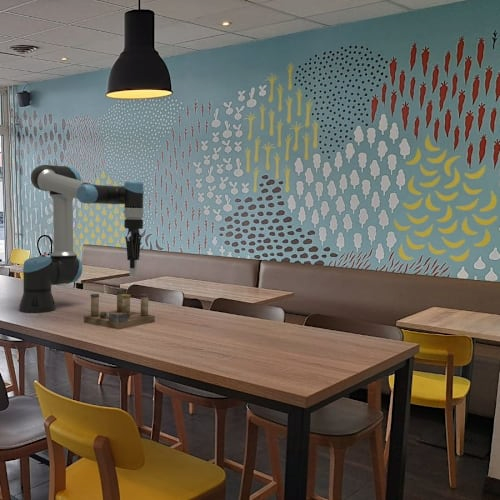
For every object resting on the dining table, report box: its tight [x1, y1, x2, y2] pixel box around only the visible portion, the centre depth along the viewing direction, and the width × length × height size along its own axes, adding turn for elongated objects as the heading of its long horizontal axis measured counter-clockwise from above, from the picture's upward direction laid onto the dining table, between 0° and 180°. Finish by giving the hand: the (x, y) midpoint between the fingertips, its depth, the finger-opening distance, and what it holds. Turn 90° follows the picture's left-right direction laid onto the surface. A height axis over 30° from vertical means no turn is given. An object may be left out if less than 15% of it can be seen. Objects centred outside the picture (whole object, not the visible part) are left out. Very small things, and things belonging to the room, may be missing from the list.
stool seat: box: [83, 290, 156, 330], centre depth 236 cm, size 20×20×11 cm
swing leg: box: [99, 293, 131, 318], centre depth 232 cm, size 12×3×9 cm, turn 106°
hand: (133, 275), depth 240 cm, fingers closed
